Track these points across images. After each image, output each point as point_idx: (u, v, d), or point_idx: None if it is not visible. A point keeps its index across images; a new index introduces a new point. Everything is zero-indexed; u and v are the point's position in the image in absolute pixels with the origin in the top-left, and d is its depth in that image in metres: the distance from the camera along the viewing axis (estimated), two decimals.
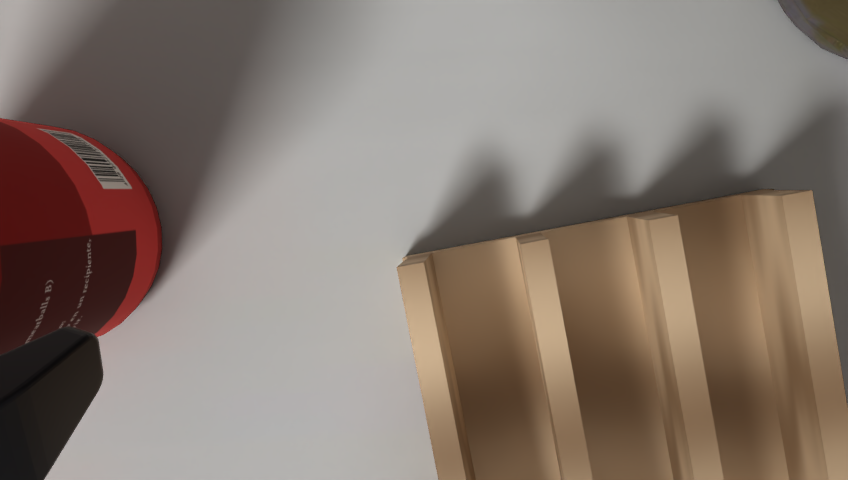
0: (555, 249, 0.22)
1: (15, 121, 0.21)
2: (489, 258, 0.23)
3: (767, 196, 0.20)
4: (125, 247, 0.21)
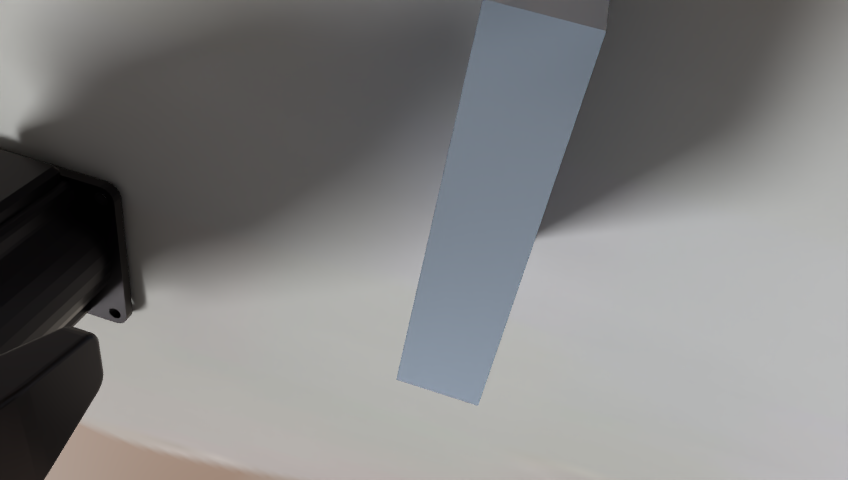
0: None
1: None
2: None
3: None
4: None
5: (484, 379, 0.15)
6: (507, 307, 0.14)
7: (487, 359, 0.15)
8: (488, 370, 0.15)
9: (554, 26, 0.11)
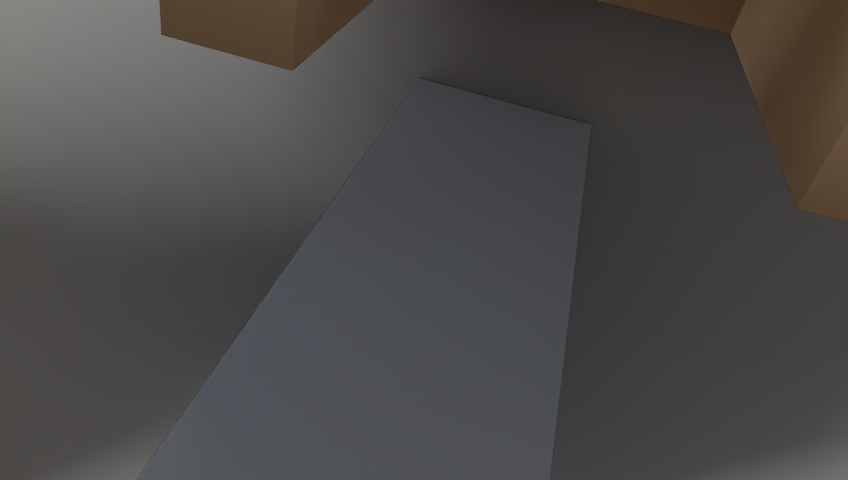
0: None
1: None
2: None
3: None
4: None
5: None
6: None
7: None
8: None
9: None
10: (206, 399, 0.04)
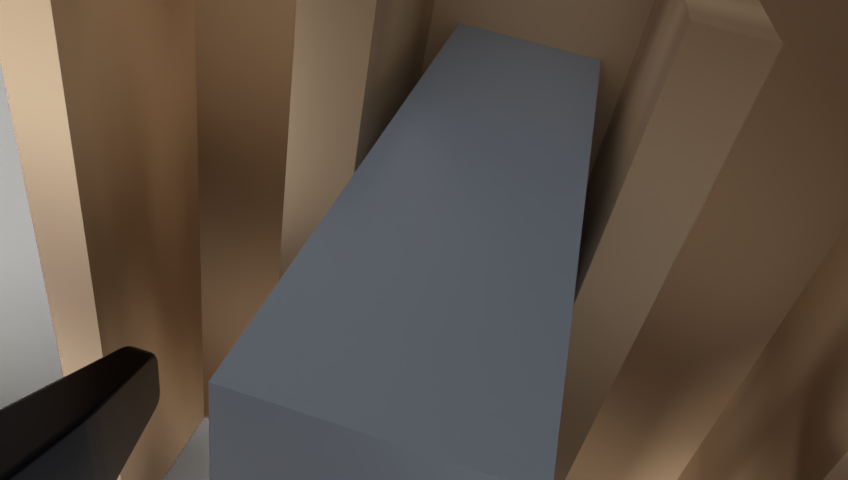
0: None
1: None
2: None
3: None
4: None
5: None
6: None
7: None
8: None
9: (407, 463, 0.04)
10: (341, 206, 0.06)
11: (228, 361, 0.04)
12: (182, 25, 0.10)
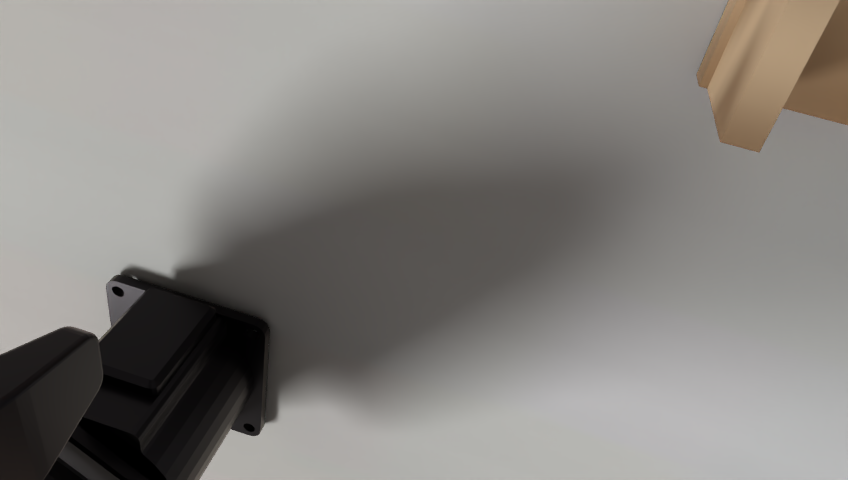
0: None
1: None
2: None
3: None
4: None
5: None
6: None
7: None
8: None
9: None
10: None
11: None
12: None
